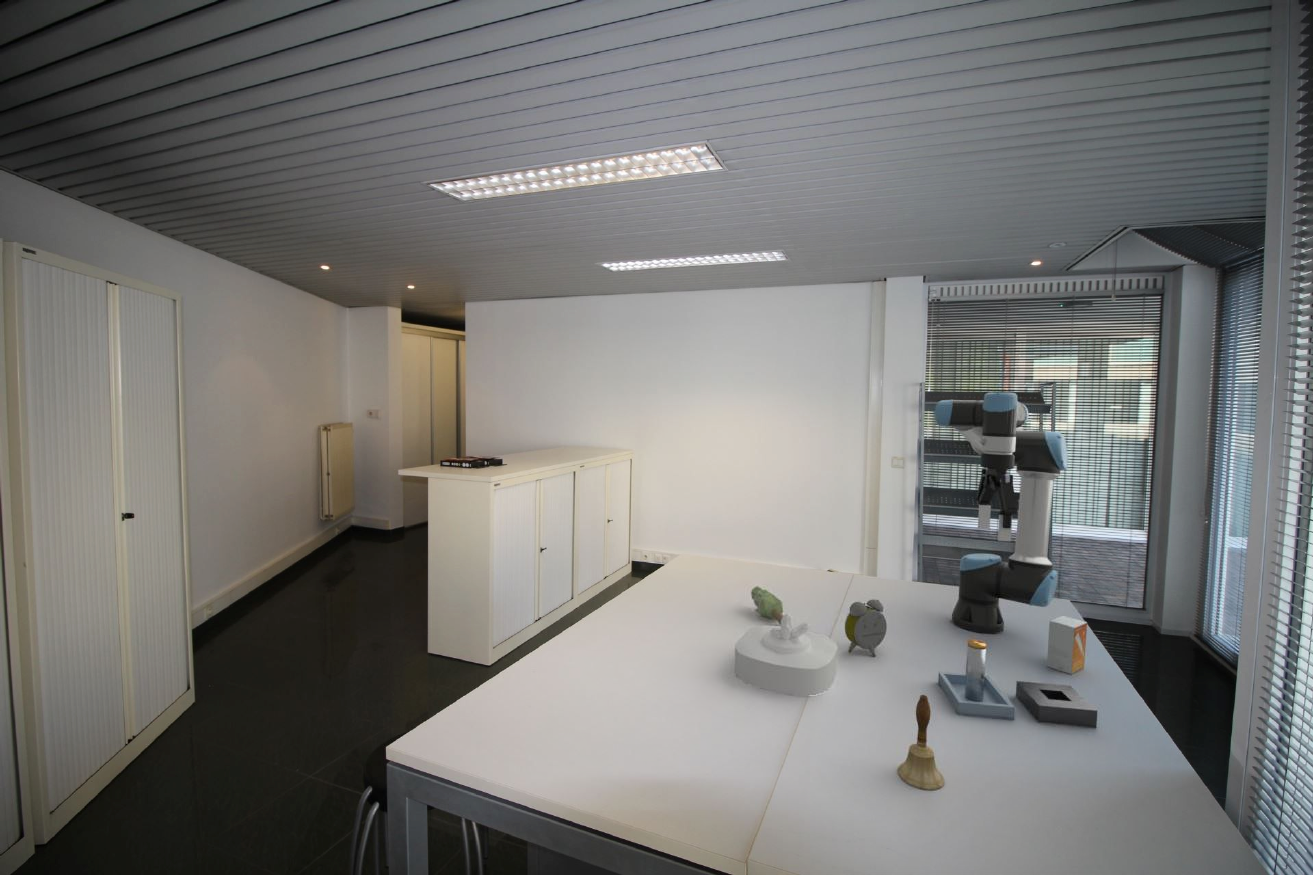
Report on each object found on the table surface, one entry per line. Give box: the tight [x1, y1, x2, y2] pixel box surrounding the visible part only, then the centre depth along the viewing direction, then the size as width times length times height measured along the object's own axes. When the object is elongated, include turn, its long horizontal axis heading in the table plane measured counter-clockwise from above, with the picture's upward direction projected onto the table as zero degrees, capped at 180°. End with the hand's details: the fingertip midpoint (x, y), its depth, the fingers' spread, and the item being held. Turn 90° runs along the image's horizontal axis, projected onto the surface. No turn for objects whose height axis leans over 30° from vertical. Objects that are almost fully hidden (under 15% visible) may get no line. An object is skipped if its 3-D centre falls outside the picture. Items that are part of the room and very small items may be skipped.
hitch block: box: [1015, 680, 1098, 729], centre depth 141 cm, size 12×12×4 cm
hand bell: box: [897, 694, 945, 791], centre depth 115 cm, size 8×8×16 cm
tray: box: [937, 671, 1016, 721], centre depth 146 cm, size 16×12×3 cm
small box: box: [1046, 615, 1088, 675], centre depth 165 cm, size 8×6×13 cm
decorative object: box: [750, 585, 784, 626], centre depth 198 cm, size 9×10×25 cm
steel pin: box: [965, 638, 987, 702], centre depth 145 cm, size 4×4×14 cm
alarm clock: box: [844, 598, 888, 657], centre depth 172 cm, size 12×7×15 cm, turn 112°
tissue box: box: [734, 613, 838, 698], centre depth 160 cm, size 25×25×16 cm
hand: (993, 534), depth 154 cm, fingers open, 13 cm apart
